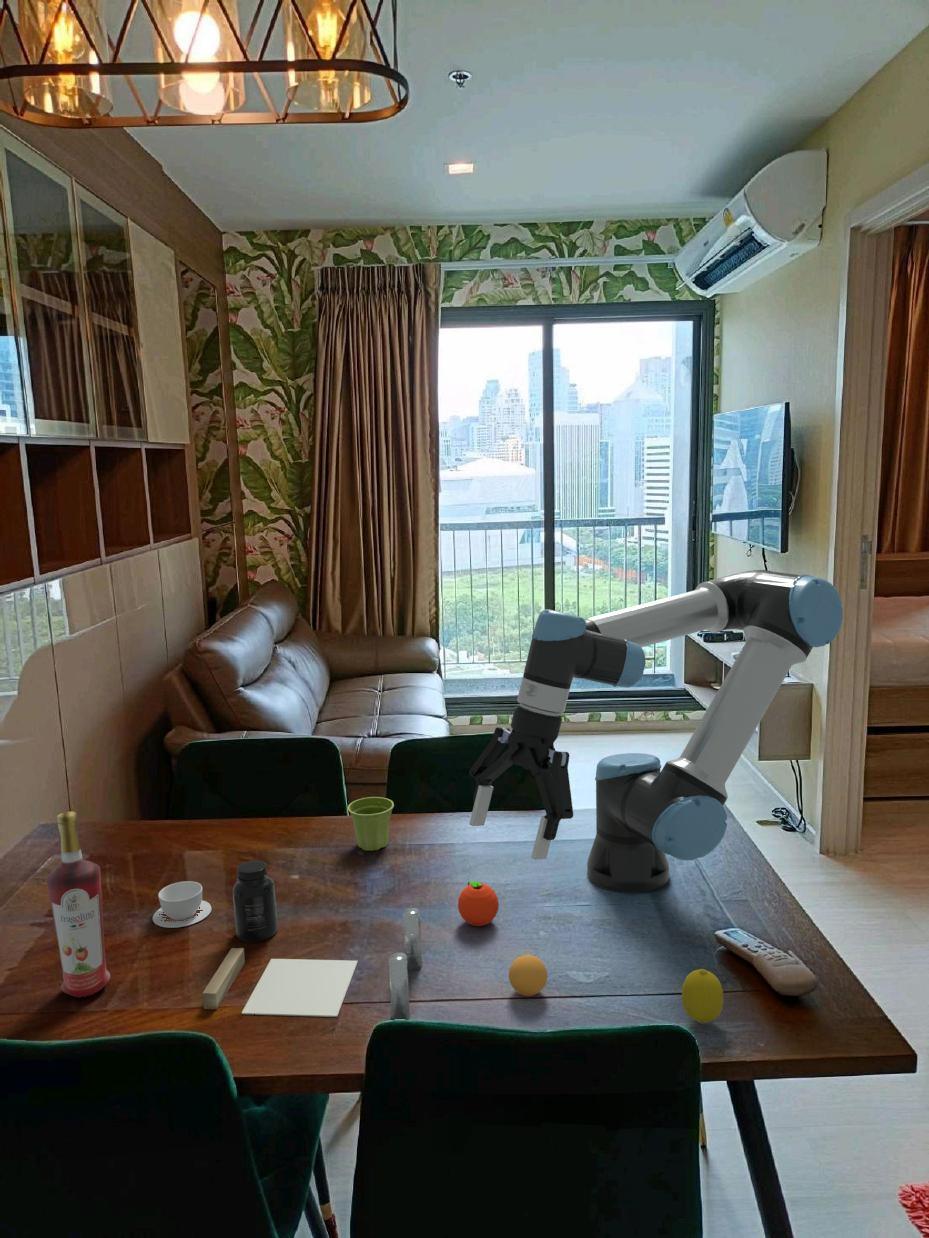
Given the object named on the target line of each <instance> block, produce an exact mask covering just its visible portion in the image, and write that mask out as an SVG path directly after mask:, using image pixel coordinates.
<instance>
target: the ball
mask: <svg viewBox="0 0 929 1238" xmlns="http://www.w3.org/2000/svg"><path fill="white" fill-rule="evenodd" d="M508 979H509V983H510V985H511V987H512V988H513V990H514V991H515V992H517V993H518V994H519V995H522V996H526V997H531V996H532V997H533V996H535V995H538V994H539V993H541V991H543V989H544V988H545V987H546V984H547V980H548V971H547V968H546V965H545V964H544V963H543V961H542V960H541V959H540V958H539V957H537V956H535V955H532V954H524V955H523V954H522V955H520V956H518V957H517V958H515V959H514V961H513V962H512V963H511V965H510V967H509V970H508Z"/></svg>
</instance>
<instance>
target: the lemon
mask: <svg viewBox="0 0 929 1238" xmlns="http://www.w3.org/2000/svg"><path fill="white" fill-rule="evenodd" d="M681 1003H682V1007H683V1009H684V1010H685V1012H686V1014H687V1015H688V1016H689V1017H690V1018H691V1019H692V1020H694V1021H695V1022H698V1023H699V1024H701V1025H703V1024H706V1023H707V1024H708V1023H712V1022H713V1021H715V1020H716V1019H717V1018H718V1017H719V1016H720V1015H721V1013H722V1010H723V1008H724V991H723V987H722V984H721V982H720V979H719V978H718V977H717V976H716V975H715V974H714V973H713V972H712V971H709V970H706V969H704V968H700V969H695V970H692V971H691V972H690V973H688V974H687V975H686V977H685V979H684V981H683V984H682V988H681Z"/></svg>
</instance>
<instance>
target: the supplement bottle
mask: <svg viewBox="0 0 929 1238" xmlns="http://www.w3.org/2000/svg"><path fill="white" fill-rule="evenodd" d="M236 869H237V871H236V872H237V876H236V878H237V881H236V883H235V884H234V886H233V888H232V898H233V909H234V921H235V931H236V932H235V933H236V936H237V938H238V939H239V940H241V941H242V942H245V943H260V942H262V941H263V942H264V941H266V940H268V939H270V938H272V937H273V936H274V935H275V934H276V933H277V932H278V931H277V930H278V914H277V902H276V892H275V889H276V888H275V883H274V880H273V879H272V878H271V877H269V876H268V867H267V863H266V862H264V861H262V860H250V861H246V862H243V863H241V864H240V865H238V866H237V868H236Z"/></svg>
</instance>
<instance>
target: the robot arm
mask: <svg viewBox="0 0 929 1238" xmlns="http://www.w3.org/2000/svg"><path fill="white" fill-rule="evenodd" d="M842 603H843V602H842V598H841V596H840V593H839V591H838V590H837V588H836V587H835V586H834V585H833V584H832V583H831V582H830V581H828V580H826V579H823V578H820V577H816V576H813V575H809V574H793V573H786V572H777V571H771V570H767V569H753V570H747V571H743V572H742V571H741V572H738V573H733V574H730V575H726V576H722V577H718V578H715V579H711V580H708V581H703V582H700V583H699V584H698V585H697V586H696V587H695V589H694V590H691V591H686V592H682V593H679V594H676V595H672V596H669V597H668V596H667V597H665V598H660V599H657V600H653V601H650V602H649V601H648V602H645V603H641V604H638V605H633V606H631V607H626V608H623V609H622V608H621V609H619V610H615V611H611V612H607V613H603V614H600V615H595V616H592V617H589V618H584V617H581V616H577V615H574V614H568V613H564V612H562V611H557V610H552V609H543V610H541V612H540V613H539V614H538V618H537V620H536V622H535V625H534V626H535V627H534V629H533V631H532V633H531V640H530V645H529V649H528V652H527V653H528V654H527V658H526V662H525V666H524V671H523V676H522V679H521V682H520V686H519V691H518V694H517V698H516V699H517V702H518V703H519V704H517V705H516V706H515V707H514V710H513V713H512V718H511V722H510V728H511V729H512V730H511V729H510V728H509V727H500V726H499V727H495V730H494V732H493V735H492V737H491V739H490V741H489V742H488V744H486V746H485V748H484V749H483V751H482V752H481V754H480V755H479V757H478V758H477V759H476V760H475V762H474V764H473V765H472V766H471V767H470V769H469V771H468V775H469V776H470V777H472V778H474V780H475V783H476V784H475V788H474V793H473V797H472V803H474V804H473V808H472V811H471V814H470V815H471V817H470V820H469V823H468V824H469V826H472V827H479V826H480V827H482V826H485V822H486V819H487V815H488V811H489V807H490V803H491V799H492V795H493V791H494V786H492V785H493V782H494V781H495V780H496V779H497V778H498V777H500V776H501V775H502V774H504V773H505V772H506V771H507V770H508V769H510V768H511V767H512V766H513V765H515V766H520V767H522V768H523V769H525V770H527V771H530V772H531V775H532V776H533V777H534V778H535V781H536V785H537V788H538V792H539V796H540V798H541V801H542V805H543V808H544V811H545V815H541V818H540V820H539V825H538V829H537V833H536V837H535V840H534V845H533V849H532V853H531V857H530V858H531V859H533V860H535V861H536V860H545V859H547V856H548V853H549V849H550V845H551V842H552V841H554V840H555V839H556V837H557V833H558V829H559V825H560V822H561V820H568V819H573V818H574V809H573V808H574V807H573V802H572V801H573V800H572V792H571V783H570V775H569V769H568V767H569V761H570V753H569V752H568V751H558V750H554V749H555V748H554V743H555V742H556V741H557V739H558V737H559V735H560V734H559V733H560V729H561V727H562V726H561V725H562V721H563V718H562V716H561V714H564V712H565V711H566V706H567V702H568V698H569V695H570V689H571V685H572V682H573V680H574V679H573V678H576V679H582V680H585V681H586V680H587V681H590V682H595V683H600V684H605V685H608V686H609V685H610V686H613V687H615V688H616V687H622V688H631V687H634V686H635V685H636V684H637V683H639V681H640V680H641V678H642V677H643V675H644V671H645V667H646V662H647V661H646V655H645V652H644V650H643V648H644V647H648V646H653V645H656V644H660V643H662V642H666V641H670V640H674V639H678V638H681V637H685V636H687V635H691V634H695V633H699V632H702V631H705V630H706V631H708V632H711V633H719V632H722V631H726V630H727V631H729V630H739V631H743V634H744V636H745V643H744V645H743V647H742V648H741V650H740V652H739V654H738V656H737V658H736V659H735V661H734V662H733V664H732V666H731V667H730V670H729V671H728V673H727V675H726V676H725V678H724V680H723V682H722V683H721V684H720V687H719V688H718V690H717V692H716V694H715V695H714V697H713V699H712V701H711V702H710V704H709V705H708V708H706V711H705V713H704V715H703V716H702V718H701V720H700V721H699V723H698V724H697V726H696V728H695V730H694V731H693V733H692V735H691V736H690V739H689V740H688V742H687V743H686V746H685V747H684V749H683V751H682V752H681V754H680V756H679V757H678V758H675V759H672V760H671V759H670V760H667V761H666V762H665V764H664V765H663V768H662V765H661V759H660V758H659V757H658V756H656V755H653V754H649V753H642V752H627V753H626V752H625V753H618V754H613V755H609V756H605V757H604V758H601V759H600V760H599V761H598V763H597V764H596V769H595V770H596V772H595V778H594V780H595V798H596V799H595V806H596V808H595V809H596V811H595V813H596V814H595V815H596V816H595V817H596V827H595V828H596V830H595V831H596V833H595V837H594V839H593V844H592V847H591V849H590V852H589V855H588V858H587V862H586V865H587V869H586V872H587V873H586V874H587V877H588V879H589V880H590V881H591V882H592V883H593V884H594V885H597V886H598V887H600V888H603V889H605V890H608V891H611V892H616V893H621V894H622V893H623V894H644V893H650V892H653V891H656V890H659V889H660V888H661V889H662V888H663V887H664V886H665V885H666V884H667V883H668V882H669V880H670V865H669V862H668V858H667V855H669V856H671V857H673V858H676V859H677V860H682V861H695V860H696V859H700V858H704V857H706V856H707V855H709V854H710V853H712V852H713V851H714V850H715V849H716V848H717V847H718V846H719V844H720V843H721V842H722V840H723V839H724V836H725V834H726V831H727V827H728V823H727V822H726V821H727V820H728V814H727V811H726V809H725V808H724V805H725V804H726V802H727V800H728V798H729V797H728V792H727V790H726V789H727V788H726V782H727V781H728V779H729V777H730V776H731V773H732V772H733V771H734V768H735V767H736V765H737V764H738V761H739V760H740V758H741V757H742V755H743V753H744V751H745V749H746V748H747V745H748V744H749V742H750V740H751V738H752V737H753V735H754V733H755V731H756V730H757V728H758V726H759V725H760V723H761V721H762V719H763V718H764V716H765V714H766V712H767V710H768V709H769V707H770V705H771V704H772V701H774V697H776V694H777V693H778V691H779V689H780V687H781V685H782V684H783V682H784V680H785V678H786V676H788V673H789V672H790V670H791V668H792V667H793V666H794V665H796V664H800V663H805V661H806V660H807V658H808V657H809V655H810V653H811V651H812V650H813V648H821V647H825V646H826V645H829V644H830V643H832V642H833V641H834V640H835V639H836V638H837V636H838V635H839V632H840V630H841V627H842V625H843V619H844V618H843V617H844V609H843V605H842ZM507 744H508V748H507V749H506V750H505V751H504V752H503V753H502V751H503V749H504V748H505V747H506V745H507ZM501 753H502V754H501ZM499 755H500V757H499V758H498V756H499ZM550 763H551V765H550Z"/></svg>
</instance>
